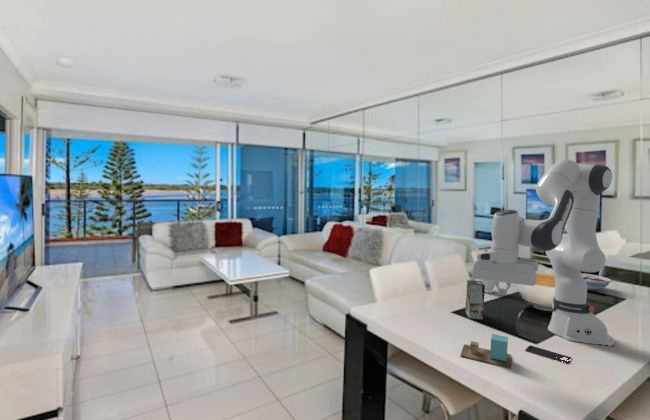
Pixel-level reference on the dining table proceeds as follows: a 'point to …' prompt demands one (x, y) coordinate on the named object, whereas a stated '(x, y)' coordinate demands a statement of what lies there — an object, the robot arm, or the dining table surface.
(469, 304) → the coffee box
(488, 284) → the jar
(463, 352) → the board
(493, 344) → the teal block
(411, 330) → the dining table surface
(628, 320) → the dining table surface
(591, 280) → the ramen bowl
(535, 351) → the smartphone
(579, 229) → the robot arm
